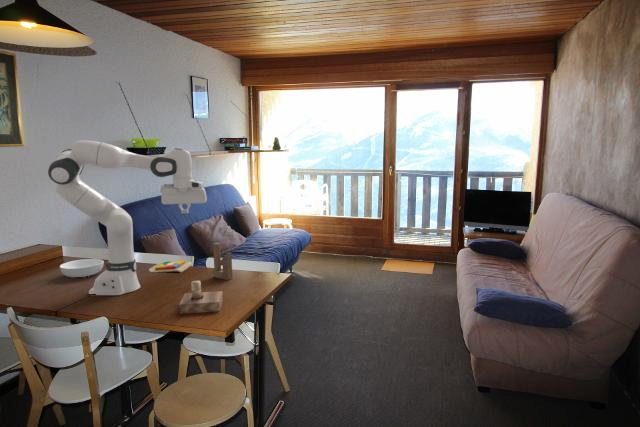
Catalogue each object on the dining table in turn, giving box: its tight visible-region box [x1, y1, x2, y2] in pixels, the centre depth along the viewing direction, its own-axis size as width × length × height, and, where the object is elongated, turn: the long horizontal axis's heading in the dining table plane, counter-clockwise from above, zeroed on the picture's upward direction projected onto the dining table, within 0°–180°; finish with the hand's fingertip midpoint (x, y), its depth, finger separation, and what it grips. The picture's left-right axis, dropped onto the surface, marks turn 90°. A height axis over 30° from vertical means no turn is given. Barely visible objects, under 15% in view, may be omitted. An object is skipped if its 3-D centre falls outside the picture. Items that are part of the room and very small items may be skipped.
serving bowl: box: [59, 258, 105, 278], centre depth 237 cm, size 21×21×7 cm
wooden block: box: [212, 242, 234, 281], centre depth 227 cm, size 4×11×18 cm, turn 57°
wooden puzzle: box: [148, 260, 193, 273], centre depth 249 cm, size 18×19×4 cm
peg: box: [190, 280, 202, 300], centre depth 186 cm, size 4×4×11 cm
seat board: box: [178, 290, 223, 315], centre depth 187 cm, size 16×14×4 cm
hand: (185, 213), depth 205 cm, fingers closed
